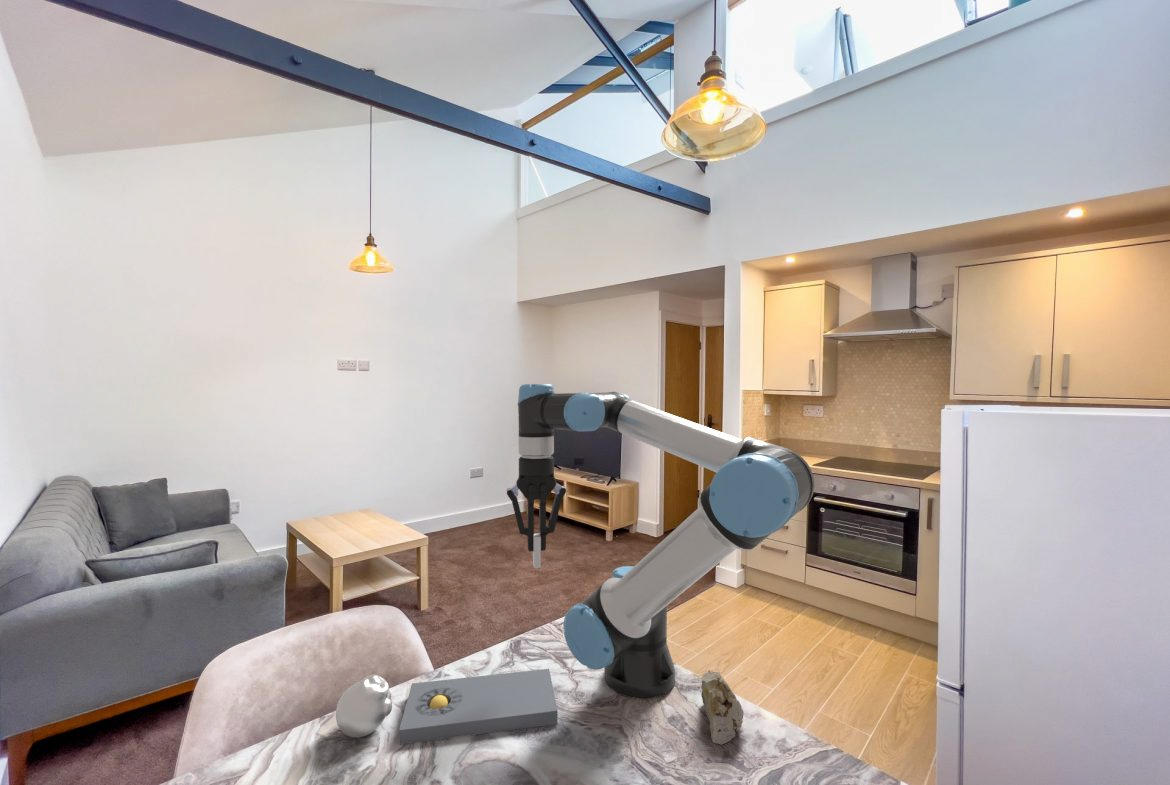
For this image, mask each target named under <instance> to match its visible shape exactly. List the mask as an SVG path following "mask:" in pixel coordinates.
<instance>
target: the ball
mask: <svg viewBox="0 0 1170 785" xmlns="http://www.w3.org/2000/svg"><path fill="white" fill-rule="evenodd" d="M447 705H448V700H447V698H446V697H445V696H443V695H437V696H435V697H434V698H433V699H432V700H431V702H430V708H431V709H440V708H443V707H445V706H447Z"/></svg>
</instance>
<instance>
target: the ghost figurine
mask: <svg viewBox="0 0 1170 785" xmlns="http://www.w3.org/2000/svg"><path fill="white" fill-rule="evenodd" d="M391 698H392V694H391V691H390V686H389V683H388V681H387V680H386V679H385V678H384V677H382V676H380V675H379V674H369V675H367V676H365V677H364V678H362V680H360V681H357V682H355V683H353V684H352V685H351V686H349V687H348V688H346V690H345V691H344V692H343V694H342V695H341V697H340V698H339V700H338V702H337V704H336V709H335V720H336V725H337V726H338V728H339V730H340V732H342V733H343V734H345V735H346V736H348V737H349V738H350V737H351V738H363V737H365V736H369V735H370V734H372V733H373V732H375V731H376V730H377V729H378V728H379V727H380V726H381V725H382V723H384V720H385V719H386V717H387V716H389V715H390V714H391V712H392V710H393V701H392V700H391Z"/></svg>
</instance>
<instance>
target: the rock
mask: <svg viewBox="0 0 1170 785" xmlns="http://www.w3.org/2000/svg"><path fill="white" fill-rule="evenodd" d="M700 679H701V689H702V691H701V695H700V696H701V699H702V704H703V706H704V711H705V715H706V717H707V719H708V720H709V730H710V737H711V741H712V743H713V744H717V745H724V744H726V743H729V742H730V741H732V739H734V738H735V737H736V733H737V732H738V731H739V729H741V728H742V724H743V723H744V721H743V720H744V710H743V708H742V705H741V703H740V701H739V699H737V697H736V695H735V693H734V692H733V691H732V689H731V688H730V685H729V683H727V681H726V680H725V678H724V677H723V676H722V675H721V672H720V671H715V670H714V671H713V670H707V672H705V673H703V674H702V676H701V678H700Z"/></svg>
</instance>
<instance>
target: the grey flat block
mask: <svg viewBox="0 0 1170 785" xmlns="http://www.w3.org/2000/svg"><path fill="white" fill-rule="evenodd" d="M551 677H552V676H551V671H550V668H544V669H533V670H524V671H515V672H505V673H498V674H497V673H496V674H495V673H494V674H489V675H487V674H486V675H477V676H469V677H459V678H451V679H449V678H448V679H441V680H440V679H439V680H431V681H422V682H414V683H411V685H410V689H409V692H408V697H407V701H406V703H405V704H406V705H405V707H404V711H403V715H402V719H401V722H400V725H399V732H398V740H399V741H398V742H399V745H404V744H413V743H420V742H427V741H436V740H443V739H451V738H457V737H458V738H460V737H466V736H475V735H476V736H477V735H481V734H489V733H490V734H491V733H497V732H499V733H500V732H505V731H513V730H514V731H515V730H521V729H529V728H537V727H543V726H551V725H552V726H553V725H558V722H559V721H558V720H559V719H558V706H557V701H556V697H555V693H554V692H555V691H554V686H553V681H552V678H551ZM437 695H443V696H445V697H446V698H447V700H448V705H447V706H445V707H443V708H440V709H431V708H430V702H431V700H432V699H433V698H434V697H435V696H437Z"/></svg>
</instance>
